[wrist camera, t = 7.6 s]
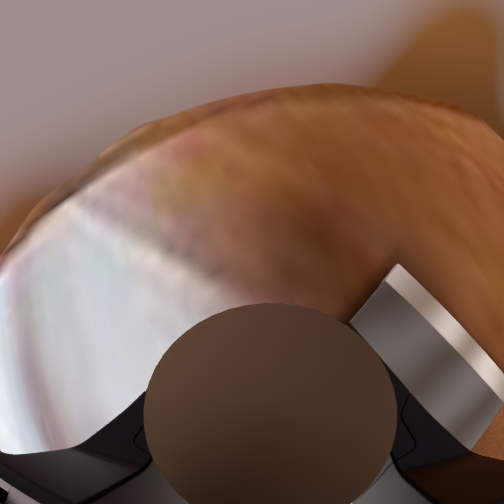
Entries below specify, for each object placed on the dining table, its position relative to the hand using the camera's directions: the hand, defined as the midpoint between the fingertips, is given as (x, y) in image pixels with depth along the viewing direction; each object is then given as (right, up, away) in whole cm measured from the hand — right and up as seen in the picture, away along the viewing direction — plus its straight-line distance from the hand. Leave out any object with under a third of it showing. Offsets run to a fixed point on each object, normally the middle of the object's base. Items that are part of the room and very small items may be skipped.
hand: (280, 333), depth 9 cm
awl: (+1, -3, +6) cm, 7 cm away
